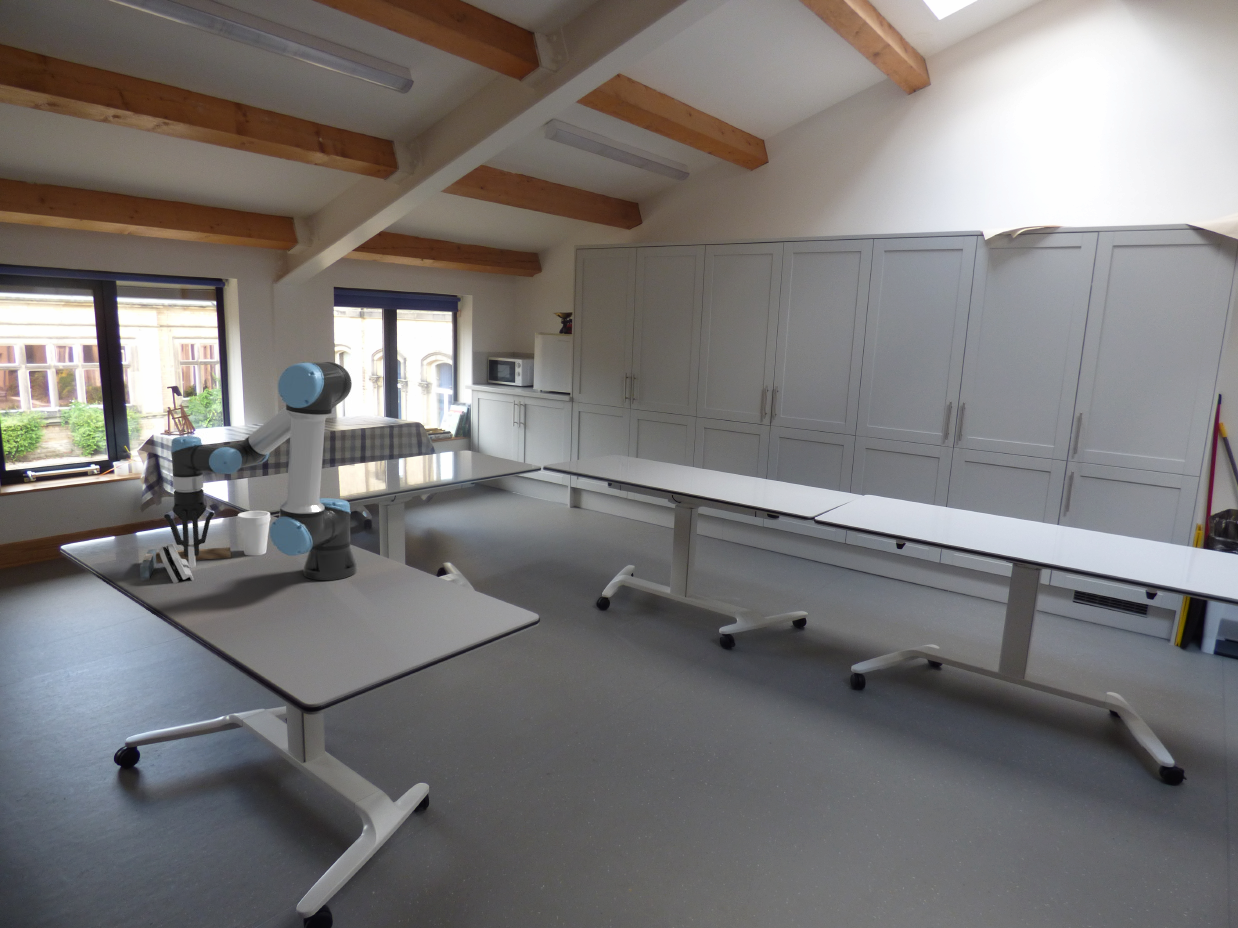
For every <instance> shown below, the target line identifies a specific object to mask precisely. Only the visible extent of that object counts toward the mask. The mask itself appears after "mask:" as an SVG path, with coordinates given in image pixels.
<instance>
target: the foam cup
mask: <svg viewBox="0 0 1238 928" xmlns="http://www.w3.org/2000/svg"><path fill="white" fill-rule="evenodd" d="M270 522H271V513H270V512H269V511H265V510H251V511H250V510H249V511H244V512H239V513H238V514H237V523H238V525H239V526H238V527H239V533H240V537H241V542H242V549H243V553H244V555H245V556H254V557H255V556H261V555H264V554H266V553H267V547H268V537H269V532H270Z"/></svg>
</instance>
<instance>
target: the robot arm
mask: <svg viewBox="0 0 1238 928" xmlns="http://www.w3.org/2000/svg"><path fill="white" fill-rule="evenodd" d="M349 373H350V372H349V371H347V369H346V368H345V367H344V366H342V364H341V365H340V364H339V363H336V362H332V361H323V362H321V361H320V362H312V361H311V362H310V361H309V362H307V361H306V362H304V361H303V362H299V363H294V364H292V365H290V366H288V367H286V369H284V370H283V371H282V373H281V374H280V376H279V379H278V383H277V390H278V394H279V397H281V398H282V399H281V400H282V402H283V403H284V404H285V406H284V408H282V409H281V410H279V411H278V412H277V413H275V414H274V415H272V417H271V418H270V419H268V420H267V421H266V422H265V423H263V424H261V426H260V427H258V428H257V429H256V430H254V431H253V432H252V433H250V435H248V436H247V437H246V438H244V440H242V441H240V442H235V443H229V444H223V445H217V446H212V445H211V446H210V445H204V444H203V443H202V439H201V438H200V437H198V436H193V435H189V436H177V437H173V438H172V440H171V447H170V448H171V451H170V455H171V464H172V465H171V466H172V485H173V489H174V491H173V503H174V504H173V507H172V510H170V511H169V512H165V514H164V515H163V517H164V519H165V520H166V521H167V522H168V524H169V528H170V530H171V533H172V535H173V539H174V541H175V544H176V545H177V546H182V547H183V550H184V556H185V557H189V561H188V564H189V568H190V569H193V568H194V569H195V568H196V566H197V565H196V561H197V560H195V556H198V555H199V549H200V545H201V544H202V545H203V544H205V543H206V540H207V536H208V532H209V528H210V523H211V520H212V518H213V517H214V516H215V510H213V509H212V510H211V509H208V508H207V505H206V504H205V497H204V493H205V492H204V489H203V488H204V473H205V472H206V473H214V474H220V475H225V474H228V475H231V474H232V475H233V474H235V473H237V471H238V470H240V469H241V468H245V467H250V466H256V465H257V466H258V465H259V464H262V463H264V462H266V461H267V460H268V459H269V456H270V453H271V452H273V451H274V450H275V449H277V447H279V446H281V445H282V444H283V443H284V442H285V441H286V440H288V439H289V453H288V470H287V486H286V498H285V501H283V502H282V503H281V504H280V505H279V516H278V517H277V518H276V519H274V521H273V522H272V523H271V525H270V526H269V537H270V540H271V542H272V545H273V546H274V547H275V548H276V549H277V550H278V551H279V552H280V553H283V554H284V555H286V556H291V557H292V556H293V557H295V556H300V555H303V554H307V555H306V559H305V561H304V564H303V576H304V577H305V578H308V579H310V580H313V581H314V580H315V581H334V580H342V579H345V578H349V577H351V576H354V575H355V574H356V573H357V570H358V569H357V568H358V567H357V561H356V558H355V556H354V553H353V551H352V548H351V514H352V513H351V508H350V507H351V505H350V503H349V501H348V500H345V499H341V498H330V497H329V498H328V497H327V498H326V497H324V498H323V497H321V487H322V486H321V482H322V469H323V468H322V467H323V457H324V442H325V441H324V439H325V430H326V429H325V427H326V419H327V418H329V417H330V416H331V415H332V411H333V409H334V408H335V407H336V406H338V405H339V404H340V403H341V402H343V401H344V400H345V399H346V398H347V397H348V396H349V394H350V393H351V391H352V383H353V382H352V378H351V376H350V375H351V374H349ZM203 472H204V473H203ZM320 497H321V498H320ZM203 514H204V516H205V517H206V518H205V522H204V526H203V529H202V533H201V538H200V535H199V519H200V518H201V517H202V515H203ZM175 515H176V517H178V519H180V520H181V523H182V525H181V526H182V537H181V533H180V532H179V528H178V525H177V523H176V520H175ZM189 521H192V534H193V535H192V539H193V540H192V541H193V544H191V543H190V539H189V537H190V536H189Z"/></svg>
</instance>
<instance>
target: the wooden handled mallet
mask: <svg viewBox="0 0 1238 928" xmlns="http://www.w3.org/2000/svg"><path fill="white" fill-rule="evenodd" d="M177 552H178V554H179V556H180V558H181V559H185V560H186V561H187V562H189V557H185V556H184V549H183V550H177ZM231 553H232V552H231V547H216V548H215V547H213V548H199V555H198V556H195V561H202V560H215V559H227V558H229V559H230V558H231V555H232V554H231ZM157 564H164V563H163V561H162V559H161V556H160V553H159V551H157V548H155V549H154V548H151V549H148V550H147V551H146V554H145V556H144V558H143V560H142V562H141V564H140V566H139V570H140V571H139V572H140V573H139V574H140V575H139V576H140V581H143V580H144V581H145V580H150V578H151V576H152V574H153V572H154V570H155V567H156V565H157Z"/></svg>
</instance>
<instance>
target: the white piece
mask: <svg viewBox="0 0 1238 928" xmlns="http://www.w3.org/2000/svg"><path fill="white" fill-rule="evenodd" d="M177 551H178V550H177V549H176V546H175V545H174V543H173V542H172V543H168V544H167V545H166V546H165V545H164V546H161V547H159V548H158V552H159V553H160V556H161V559H162V561H163V563H162V564H163V565H164V568H165V569H166V572H167V573H168V575H169V577H170V579H171V581H172V582H173V584H177V583H179V581H180V579H181V580H186V579H188V578H190V580H191V581H192V582H193V581H195V579H194V576H193V574H192V571H191V568H189V562H188V561H186V560H185V559H181V558H180V556H179V554H178V552H177Z"/></svg>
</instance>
